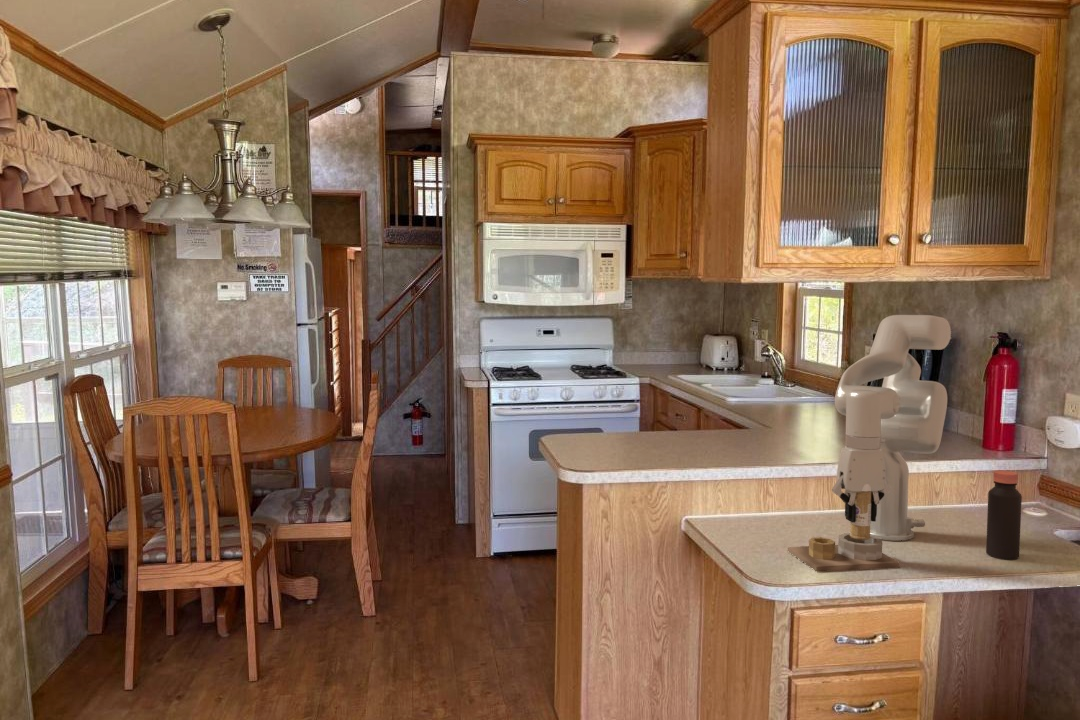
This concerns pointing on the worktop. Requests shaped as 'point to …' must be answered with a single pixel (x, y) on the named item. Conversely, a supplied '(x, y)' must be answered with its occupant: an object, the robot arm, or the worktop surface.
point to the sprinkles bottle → (862, 515)
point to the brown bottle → (1004, 517)
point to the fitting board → (841, 561)
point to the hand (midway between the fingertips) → (860, 519)
